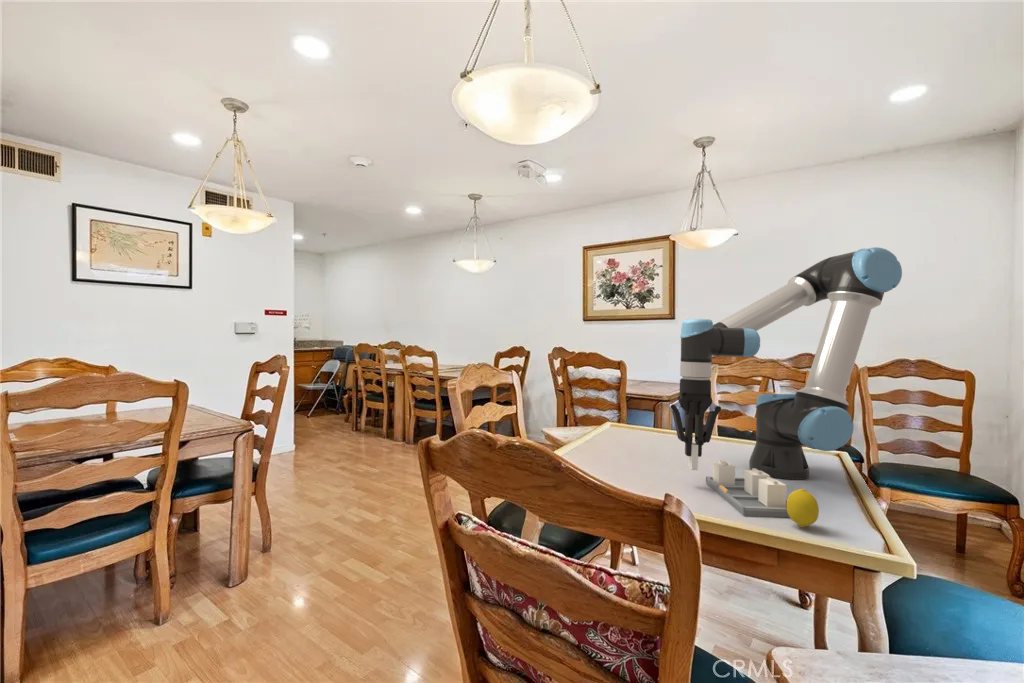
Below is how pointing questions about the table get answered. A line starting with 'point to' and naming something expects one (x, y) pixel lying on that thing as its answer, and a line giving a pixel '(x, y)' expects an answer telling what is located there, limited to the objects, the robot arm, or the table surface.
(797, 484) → the table surface
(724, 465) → the tab
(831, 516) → the table surface
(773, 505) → the tab
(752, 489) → the cream ridged block
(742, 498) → the frame
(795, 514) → the lemon
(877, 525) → the table surface
